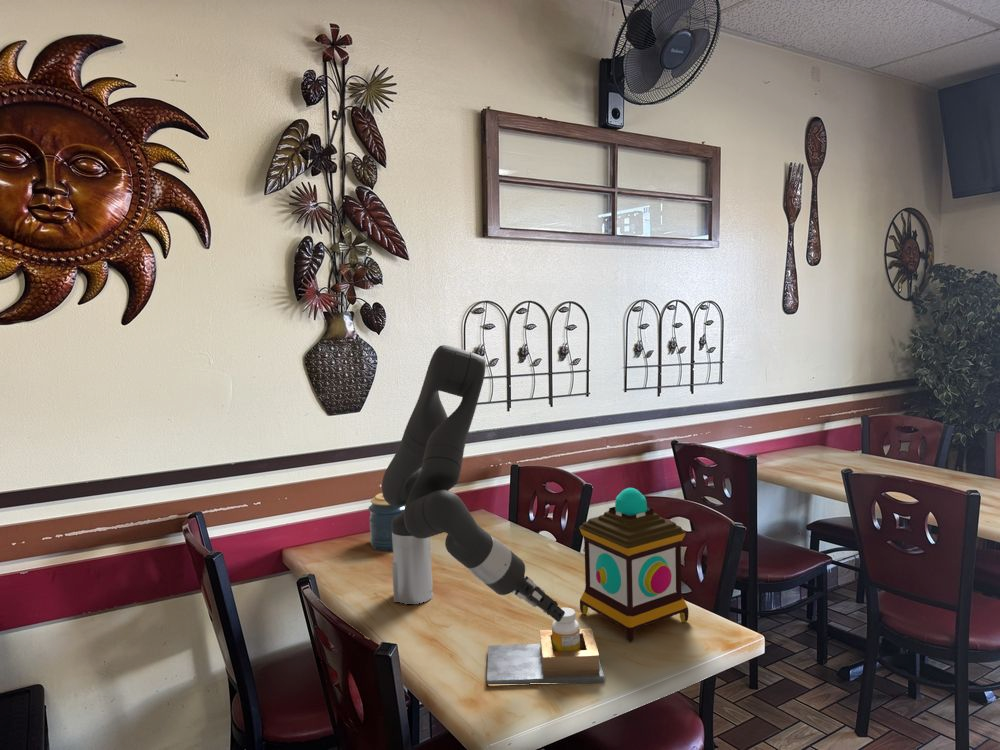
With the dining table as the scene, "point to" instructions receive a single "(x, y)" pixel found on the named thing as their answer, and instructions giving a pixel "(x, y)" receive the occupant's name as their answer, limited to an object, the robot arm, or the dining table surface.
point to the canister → (382, 522)
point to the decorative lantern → (633, 565)
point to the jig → (545, 662)
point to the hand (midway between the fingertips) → (548, 608)
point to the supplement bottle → (566, 632)
